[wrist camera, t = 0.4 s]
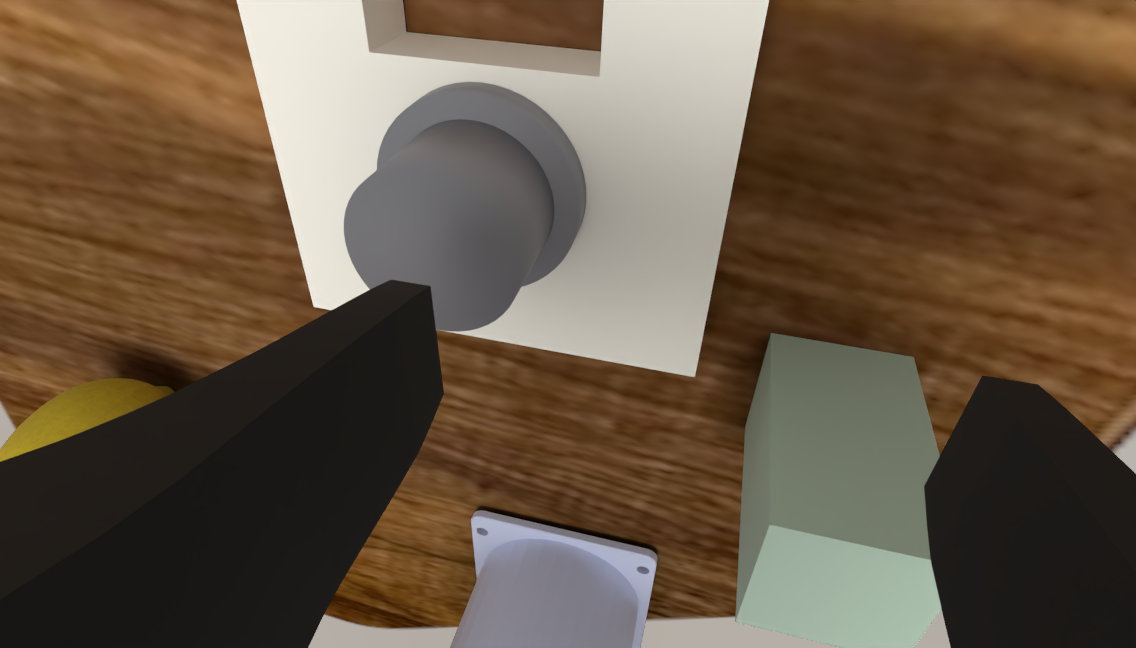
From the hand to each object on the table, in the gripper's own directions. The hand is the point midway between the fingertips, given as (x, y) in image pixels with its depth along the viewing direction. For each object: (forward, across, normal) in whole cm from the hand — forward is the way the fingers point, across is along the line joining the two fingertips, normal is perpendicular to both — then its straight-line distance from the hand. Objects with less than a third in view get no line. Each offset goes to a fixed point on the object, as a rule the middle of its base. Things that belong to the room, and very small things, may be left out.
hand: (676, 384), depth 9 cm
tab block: (+10, -4, +8) cm, 13 cm away
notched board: (+10, +6, -1) cm, 11 cm away
